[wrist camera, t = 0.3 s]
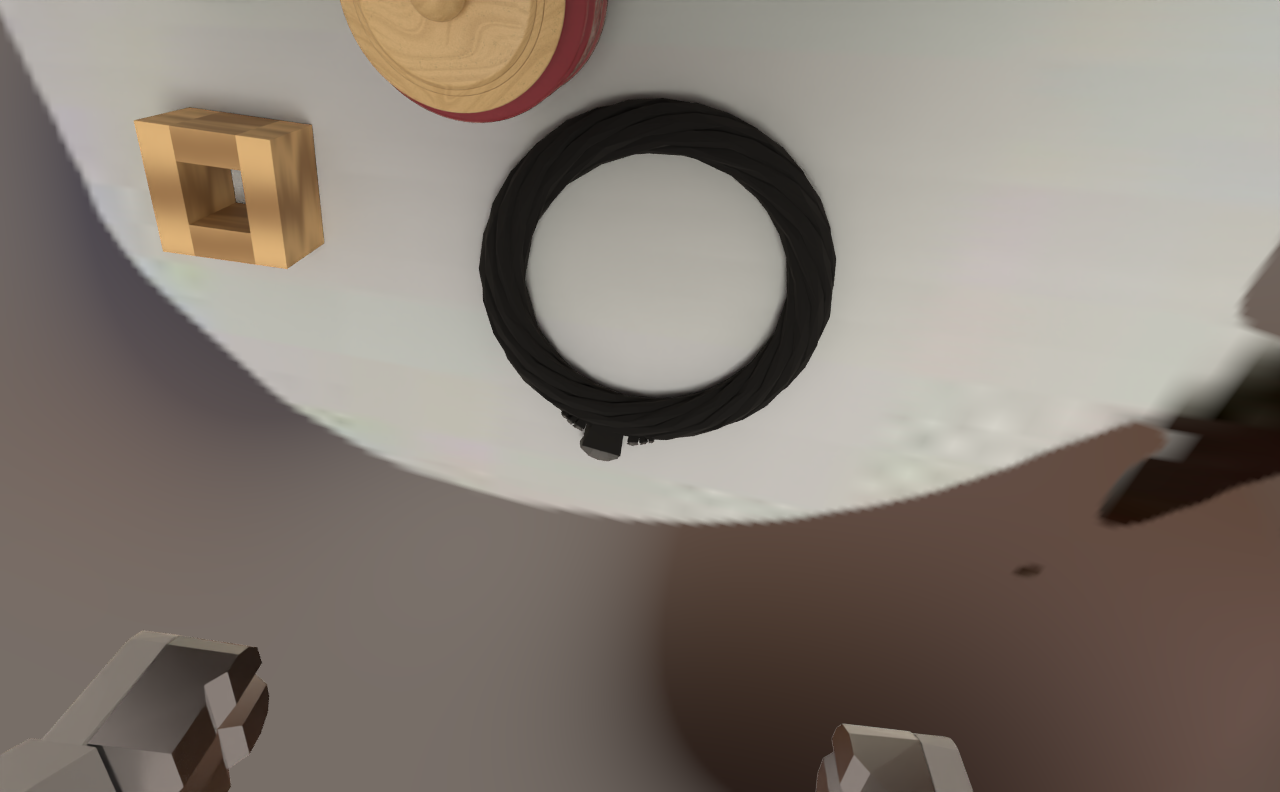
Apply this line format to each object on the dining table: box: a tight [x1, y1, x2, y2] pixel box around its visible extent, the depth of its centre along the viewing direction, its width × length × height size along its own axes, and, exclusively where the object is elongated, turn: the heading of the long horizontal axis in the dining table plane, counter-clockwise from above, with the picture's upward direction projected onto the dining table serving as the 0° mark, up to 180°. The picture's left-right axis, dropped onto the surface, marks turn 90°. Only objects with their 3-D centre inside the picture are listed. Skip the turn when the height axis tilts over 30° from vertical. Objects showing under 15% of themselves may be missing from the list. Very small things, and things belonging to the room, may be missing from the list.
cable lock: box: [479, 98, 836, 461], centre depth 55 cm, size 28×4×30 cm
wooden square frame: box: [134, 107, 324, 269], centre depth 51 cm, size 9×9×6 cm
